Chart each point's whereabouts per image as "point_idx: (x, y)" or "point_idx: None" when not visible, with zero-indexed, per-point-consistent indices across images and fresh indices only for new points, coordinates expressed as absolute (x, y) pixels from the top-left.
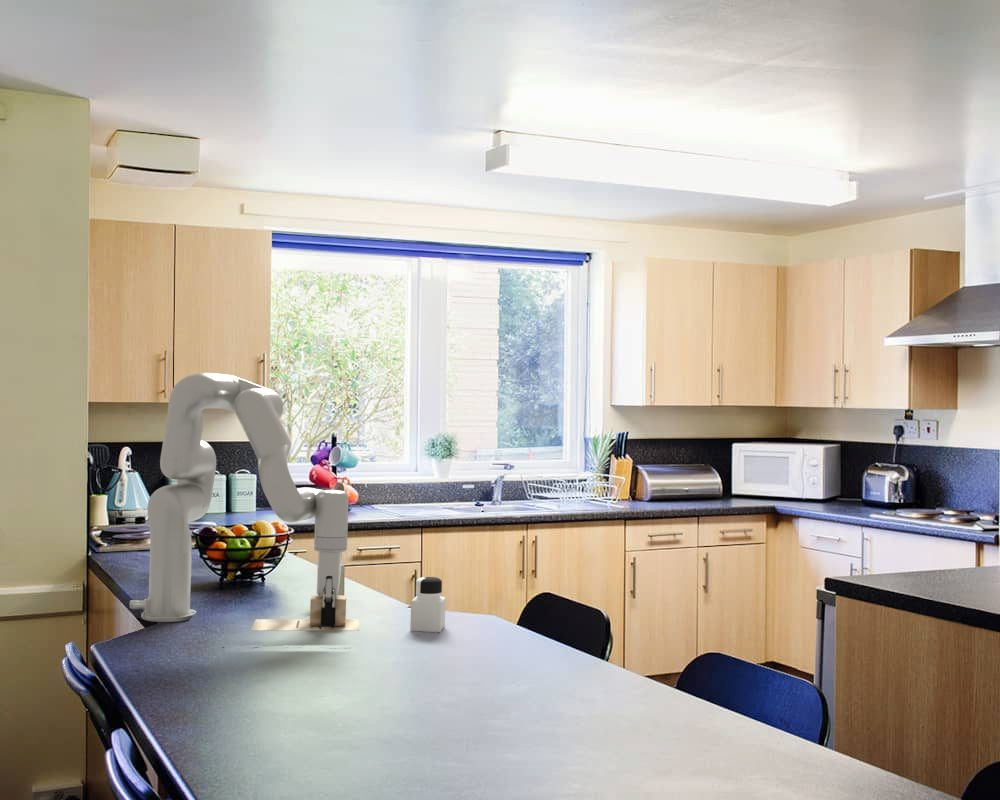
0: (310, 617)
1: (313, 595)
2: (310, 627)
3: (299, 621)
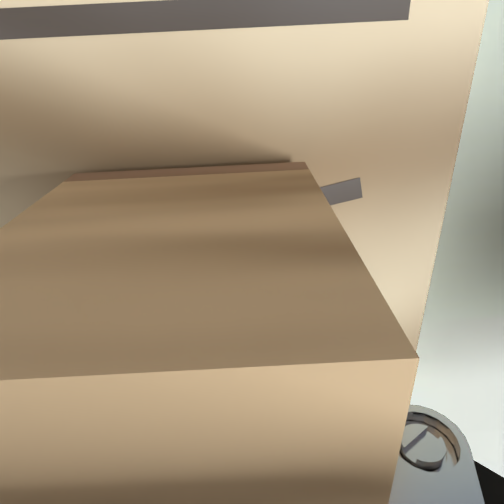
0: (35, 209)
1: (395, 402)
2: (55, 179)
3: (355, 20)
